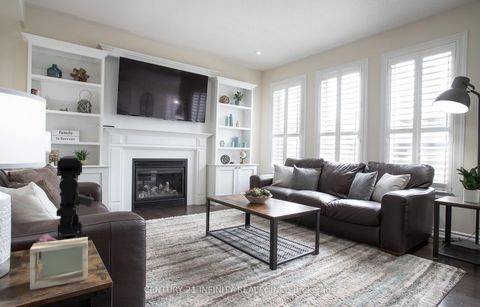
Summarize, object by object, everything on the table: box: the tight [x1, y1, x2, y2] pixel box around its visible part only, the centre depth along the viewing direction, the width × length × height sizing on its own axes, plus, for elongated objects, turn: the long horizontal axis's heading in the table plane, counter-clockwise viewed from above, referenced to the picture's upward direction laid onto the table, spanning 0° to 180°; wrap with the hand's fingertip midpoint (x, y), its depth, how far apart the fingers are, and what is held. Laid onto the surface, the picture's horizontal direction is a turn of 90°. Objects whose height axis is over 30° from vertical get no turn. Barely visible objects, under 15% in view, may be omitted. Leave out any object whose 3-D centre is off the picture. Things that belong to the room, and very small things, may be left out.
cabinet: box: [29, 236, 89, 291], centre depth 91 cm, size 6×16×13 cm, turn 117°
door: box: [40, 246, 83, 278], centre depth 95 cm, size 3×12×10 cm, turn 120°
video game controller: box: [36, 234, 58, 243], centre depth 119 cm, size 10×5×7 cm, turn 22°
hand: (69, 228), depth 107 cm, fingers closed
